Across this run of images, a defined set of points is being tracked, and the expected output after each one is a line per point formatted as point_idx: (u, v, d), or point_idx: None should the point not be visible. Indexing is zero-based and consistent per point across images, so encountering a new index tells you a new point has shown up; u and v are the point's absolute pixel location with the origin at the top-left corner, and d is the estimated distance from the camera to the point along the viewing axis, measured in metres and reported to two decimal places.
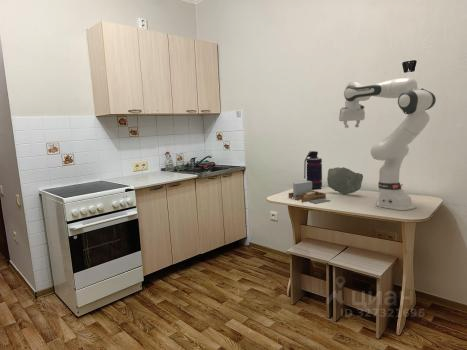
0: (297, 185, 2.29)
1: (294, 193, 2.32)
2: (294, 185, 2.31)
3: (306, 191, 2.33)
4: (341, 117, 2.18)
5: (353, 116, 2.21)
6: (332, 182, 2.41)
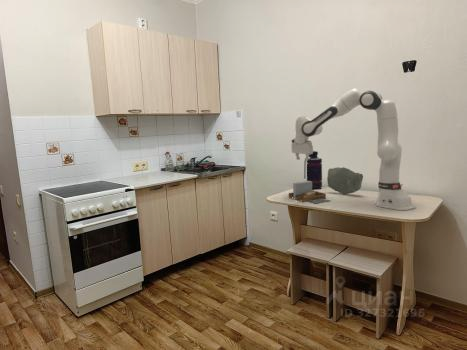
0: (297, 185, 2.29)
1: (294, 193, 2.32)
2: (294, 185, 2.31)
3: (306, 191, 2.33)
4: (312, 150, 2.21)
5: None
6: (332, 182, 2.41)
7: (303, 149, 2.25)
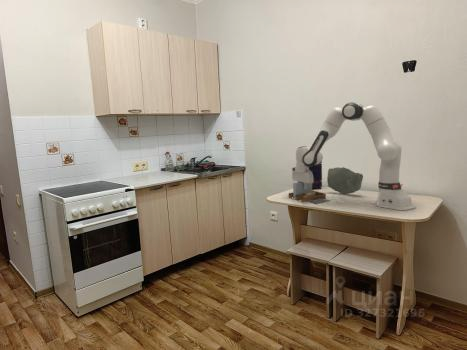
0: (297, 185, 2.29)
1: (294, 193, 2.32)
2: (294, 185, 2.31)
3: (306, 191, 2.33)
4: (312, 180, 2.24)
5: None
6: (332, 182, 2.41)
7: (303, 178, 2.28)
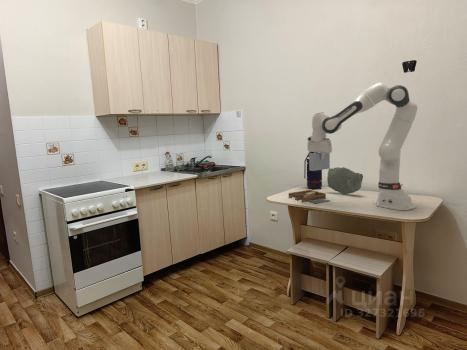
0: (314, 155, 2.11)
1: (310, 164, 2.14)
2: (310, 155, 2.12)
3: (323, 162, 2.15)
4: (330, 148, 2.06)
5: None
6: (332, 182, 2.41)
7: (321, 147, 2.10)
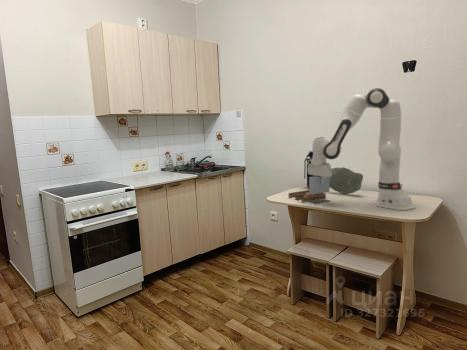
0: (314, 179, 2.14)
1: (310, 188, 2.16)
2: (310, 179, 2.15)
3: (323, 186, 2.18)
4: (330, 173, 2.08)
5: None
6: (332, 182, 2.41)
7: (321, 171, 2.13)
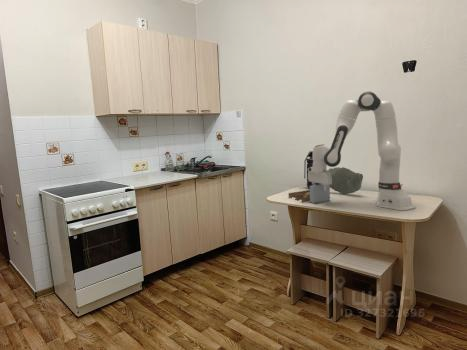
0: (314, 188, 2.14)
1: (311, 196, 2.17)
2: (311, 188, 2.16)
3: (323, 194, 2.18)
4: (330, 181, 2.09)
5: None
6: (332, 182, 2.41)
7: (321, 179, 2.13)
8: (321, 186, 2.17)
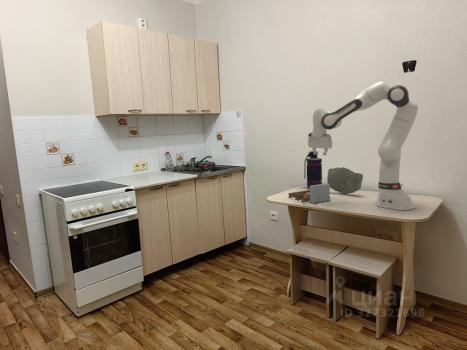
0: (314, 188, 2.14)
1: (311, 196, 2.17)
2: (311, 188, 2.16)
3: (323, 194, 2.18)
4: (331, 144, 2.09)
5: None
6: (332, 182, 2.41)
7: (321, 143, 2.14)
8: (321, 186, 2.17)
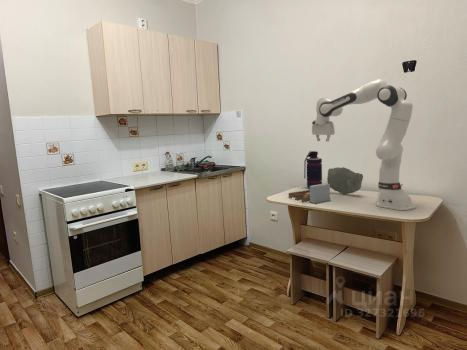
0: (314, 188, 2.14)
1: (311, 196, 2.17)
2: (311, 188, 2.16)
3: (323, 194, 2.18)
4: (333, 131, 2.25)
5: None
6: (332, 182, 2.41)
7: (324, 130, 2.29)
8: (321, 186, 2.17)
